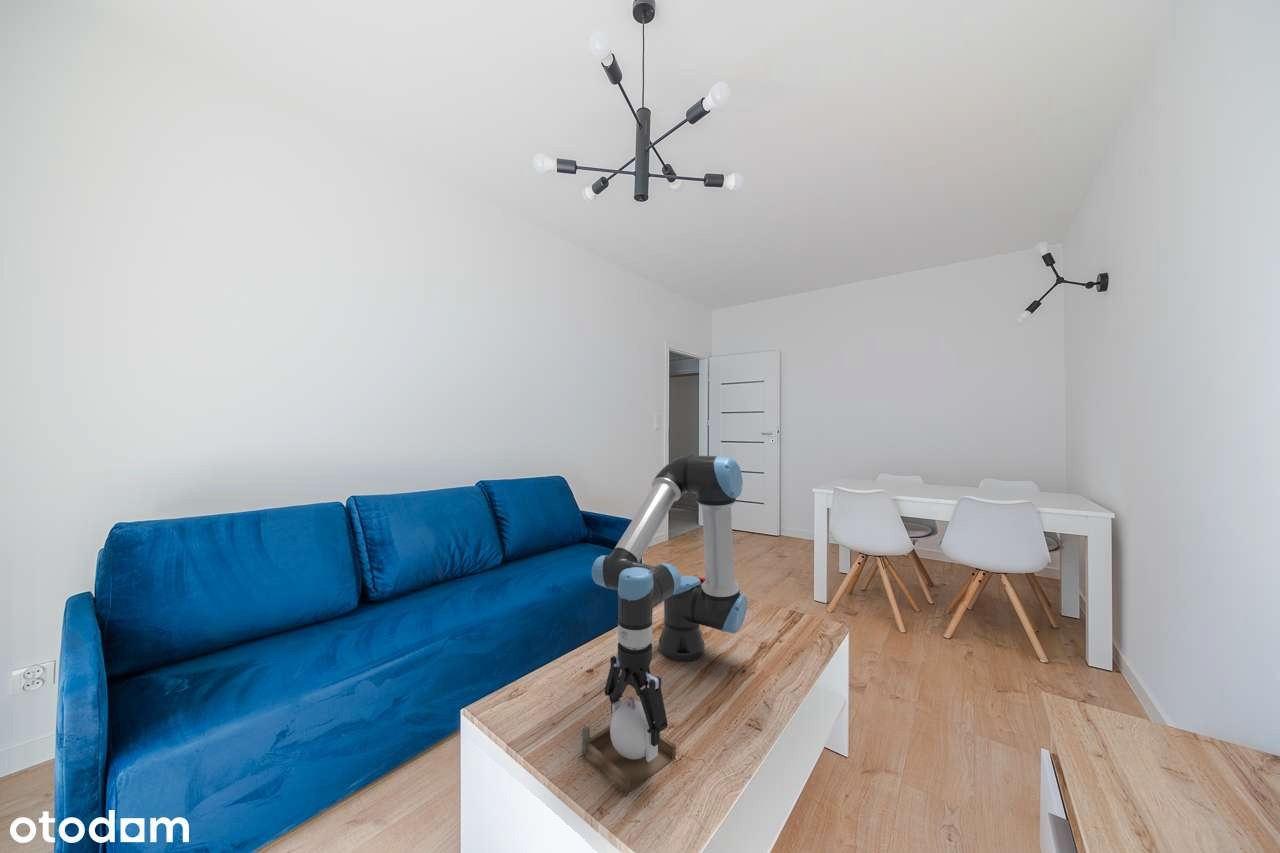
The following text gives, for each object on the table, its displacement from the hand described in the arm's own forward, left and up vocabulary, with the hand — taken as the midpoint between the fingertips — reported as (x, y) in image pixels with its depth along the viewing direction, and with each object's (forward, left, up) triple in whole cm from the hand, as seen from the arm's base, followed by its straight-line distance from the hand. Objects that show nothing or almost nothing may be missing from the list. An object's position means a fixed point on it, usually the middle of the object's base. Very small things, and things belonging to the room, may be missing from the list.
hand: (633, 743), depth 94 cm
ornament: (0, 0, -2) cm, 2 cm away
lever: (-50, +88, -4) cm, 101 cm away
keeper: (-1, 0, -4) cm, 4 cm away
